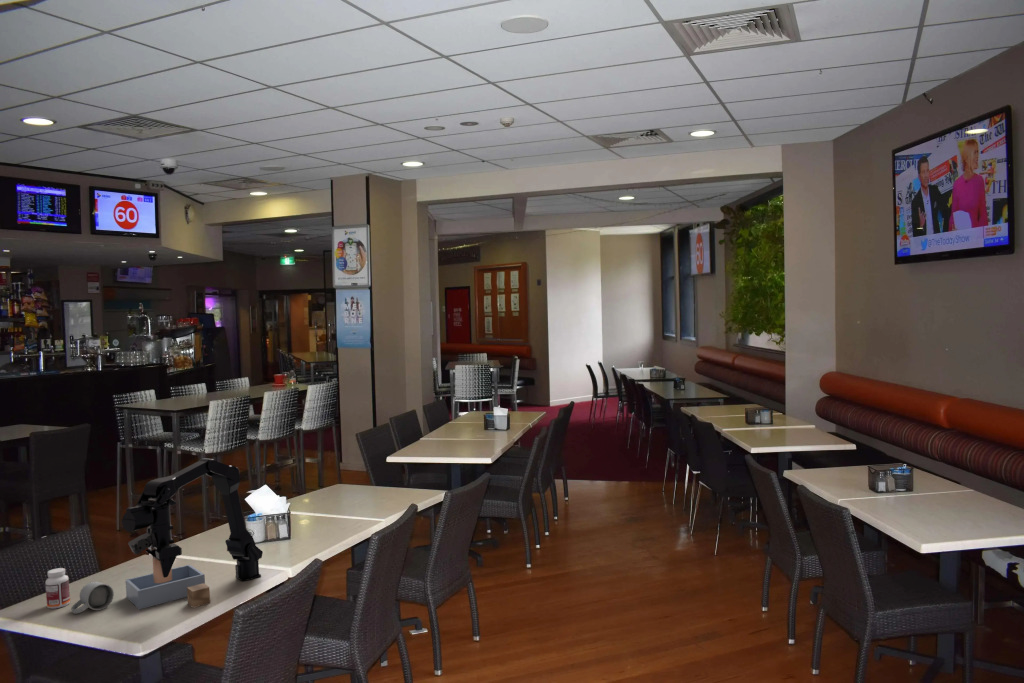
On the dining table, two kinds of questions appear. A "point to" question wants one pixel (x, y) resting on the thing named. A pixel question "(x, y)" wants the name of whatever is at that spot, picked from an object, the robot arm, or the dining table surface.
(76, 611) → the ceramic mug
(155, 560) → the terracotta cylinder
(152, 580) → the tote
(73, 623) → the dining table surface
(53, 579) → the pill bottle
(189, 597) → the walnut cube
